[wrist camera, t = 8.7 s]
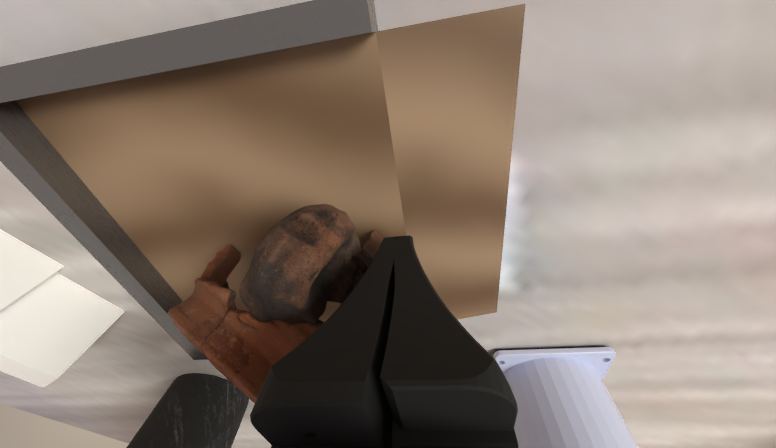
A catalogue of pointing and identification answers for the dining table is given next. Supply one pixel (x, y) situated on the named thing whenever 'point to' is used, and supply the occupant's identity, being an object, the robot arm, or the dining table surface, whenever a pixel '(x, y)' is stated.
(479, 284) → the brown flat board
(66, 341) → the white stepped block
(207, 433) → the travel mug
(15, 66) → the curbs
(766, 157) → the dining table surface
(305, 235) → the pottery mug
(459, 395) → the robot arm
